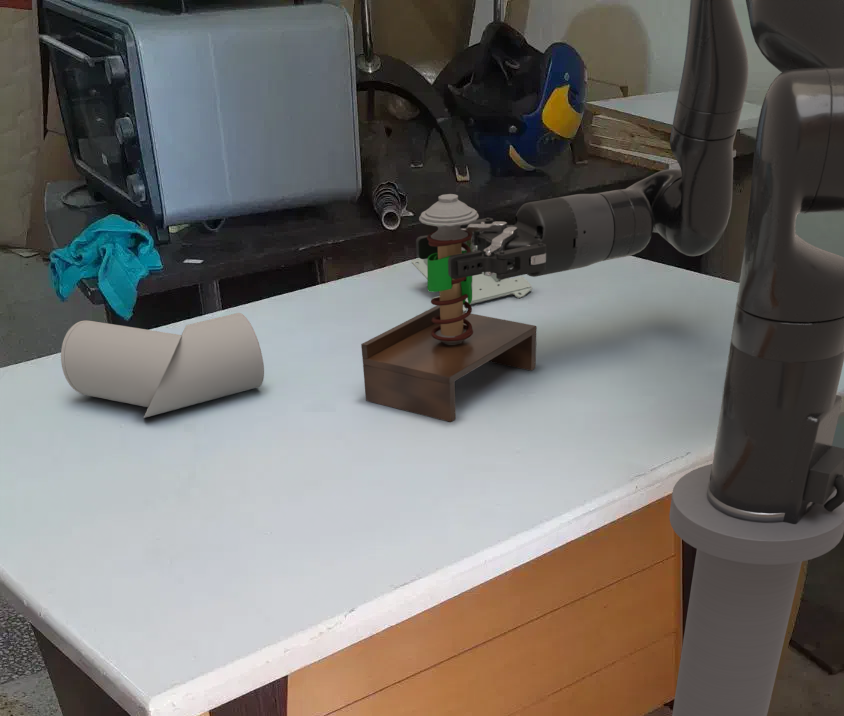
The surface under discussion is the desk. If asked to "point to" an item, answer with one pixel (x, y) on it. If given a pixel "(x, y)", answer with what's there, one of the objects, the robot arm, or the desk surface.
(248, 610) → the desk surface
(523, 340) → the shelf
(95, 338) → the elbow connector
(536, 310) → the desk surface
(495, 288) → the metal bracket
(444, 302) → the shock absorber
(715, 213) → the robot arm
